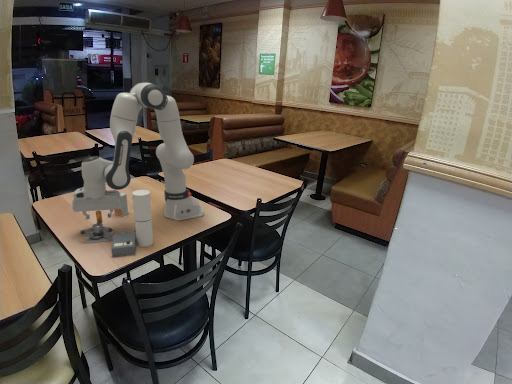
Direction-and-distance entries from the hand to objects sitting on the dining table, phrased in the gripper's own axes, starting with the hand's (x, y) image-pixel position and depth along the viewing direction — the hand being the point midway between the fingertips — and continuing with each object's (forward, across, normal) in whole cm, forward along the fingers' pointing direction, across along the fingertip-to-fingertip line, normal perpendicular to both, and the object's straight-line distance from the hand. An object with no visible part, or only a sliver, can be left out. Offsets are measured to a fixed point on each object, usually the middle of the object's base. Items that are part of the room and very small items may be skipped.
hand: (99, 218), depth 145 cm
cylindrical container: (+7, -20, +16) cm, 27 cm away
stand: (+7, -6, +13) cm, 16 cm away
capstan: (+6, 0, +5) cm, 8 cm away
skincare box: (+7, -8, -17) cm, 20 cm away
